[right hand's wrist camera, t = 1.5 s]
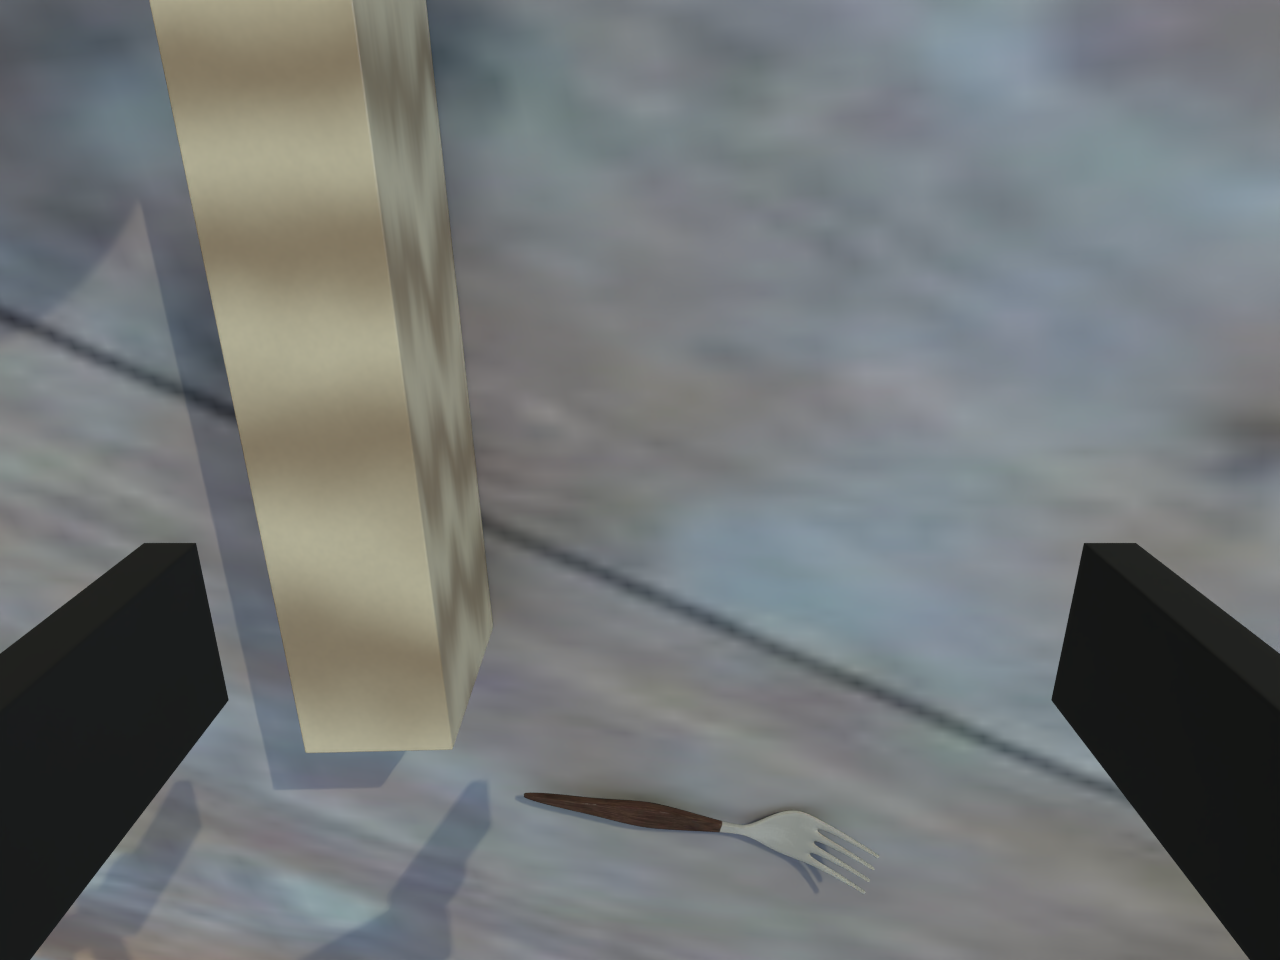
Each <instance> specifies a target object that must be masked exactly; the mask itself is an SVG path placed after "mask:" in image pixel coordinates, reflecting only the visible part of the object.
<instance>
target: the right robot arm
mask: <svg viewBox="0 0 1280 960" xmlns="http://www.w3.org/2000/svg"><path fill="white" fill-rule="evenodd" d="M227 701H228V695H227V690H226V686H225V681H224V676H223V671H222V666H221V661H220V657H219V652H218V647H217V642H216V637H215V633H214V628H213V623H212V618H211V613H210V609H209V604H208V599H207V594H206V589H205V584H204V580H203V575H202V570H201V565H200V560H199V556H198V551H197V546H196V543H144V544H142V545H141V546H140V547H139V548H137V549H136V550H135V551H133V552H132V553H131V554H129V555H128V556H127V557H126V558H124V559H123V560H122V561H120V562H119V563H118V564H116V565H115V566H114V567H113V568H111V569H110V570H109V571H107V572H106V573H105V574H103V575H102V576H101V577H100V578H98V579H97V580H96V581H94V582H93V583H92V584H90V585H89V586H88V587H87V588H85V589H84V590H83V591H81V592H80V593H79V594H77V595H76V596H75V597H74V598H72V599H71V600H70V601H68V602H67V603H66V604H64V605H63V606H62V607H61V608H59V609H58V610H57V611H55V612H54V613H53V614H51V615H50V616H49V617H48V618H46V619H45V620H44V621H42V622H41V623H40V624H38V625H37V626H36V627H35V628H33V629H32V630H31V631H29V632H28V633H27V634H25V635H24V636H23V637H22V638H20V639H19V640H18V641H16V642H15V643H14V644H12V645H11V646H10V647H9V648H7V649H6V650H5V651H3V652H2V653H1V654H0V960H30V959H31V958H32V957H33V955H34V954H35V953H36V951H37V950H38V949H39V947H40V946H41V945H42V944H43V942H44V941H45V940H46V938H47V937H48V936H49V934H50V933H51V932H52V930H53V929H54V928H55V927H56V925H57V924H58V923H59V921H60V920H61V919H62V917H63V916H64V915H65V913H66V912H67V911H68V910H69V908H70V907H71V906H72V904H73V903H74V902H75V900H76V899H77V898H78V896H79V895H80V894H81V893H82V891H83V890H84V889H85V887H86V886H87V885H88V883H89V882H90V881H91V879H92V878H93V877H94V876H95V874H96V873H97V872H98V870H99V869H100V868H101V866H102V865H103V864H104V862H105V861H106V860H107V859H108V857H109V856H110V855H111V853H112V852H113V851H114V849H115V848H116V847H117V845H118V844H119V843H120V841H121V840H122V839H123V838H124V836H125V835H126V834H127V832H128V831H129V830H130V828H131V827H132V826H133V824H134V823H135V822H136V821H137V819H138V818H139V817H140V815H141V814H142V813H143V811H144V810H145V809H146V807H147V806H148V805H149V804H150V802H151V801H152V800H153V798H154V797H155V796H156V794H157V793H158V792H159V790H160V789H161V788H162V787H163V785H164V784H165V783H166V781H167V780H168V779H169V777H170V776H171V775H172V773H173V772H174V771H175V770H176V768H177V767H178V766H179V764H180V763H181V762H182V760H183V759H184V758H185V756H186V755H187V754H188V753H189V751H190V750H191V749H192V747H193V746H194V745H195V743H196V742H197V741H198V739H199V738H200V737H201V736H202V734H203V733H204V732H205V730H206V729H207V728H208V726H209V725H210V724H211V722H212V721H213V720H214V718H215V717H216V716H217V715H218V713H219V712H220V711H221V709H222V708H223V707H224V705H225V704H226V703H227ZM1052 701H1053V703H1054V704H1055V705H1056V707H1057V708H1058V709H1059V711H1060V712H1061V713H1062V715H1063V716H1064V717H1065V719H1066V720H1067V721H1068V722H1069V724H1070V725H1071V726H1072V728H1073V729H1074V730H1075V732H1076V733H1077V734H1078V736H1079V737H1080V738H1081V739H1082V741H1083V742H1084V743H1085V745H1086V746H1087V747H1088V749H1089V750H1090V751H1091V753H1092V754H1093V755H1094V756H1095V758H1096V759H1097V760H1098V762H1099V763H1100V764H1101V766H1102V767H1103V768H1104V770H1105V771H1106V772H1107V773H1108V775H1109V776H1110V777H1111V779H1112V780H1113V781H1114V783H1115V784H1116V785H1117V787H1118V788H1119V789H1120V790H1121V792H1122V793H1123V794H1124V796H1125V797H1126V798H1127V800H1128V801H1129V802H1130V804H1131V805H1132V806H1133V807H1134V809H1135V810H1136V811H1137V813H1138V814H1139V815H1140V817H1141V818H1142V819H1143V821H1144V822H1145V823H1146V824H1147V826H1148V827H1149V828H1150V830H1151V831H1152V832H1153V834H1154V835H1155V836H1156V838H1157V839H1158V840H1159V841H1160V843H1161V844H1162V845H1163V847H1164V848H1165V849H1166V851H1167V852H1168V853H1169V855H1170V856H1171V857H1172V859H1173V860H1174V861H1175V862H1176V864H1177V865H1178V866H1179V868H1180V869H1181V870H1182V872H1183V873H1184V874H1185V876H1186V877H1187V878H1188V879H1189V881H1190V882H1191V883H1192V885H1193V886H1194V887H1195V889H1196V890H1197V891H1198V893H1199V894H1200V895H1201V896H1202V898H1203V899H1204V900H1205V902H1206V903H1207V904H1208V906H1209V907H1210V908H1211V910H1212V911H1213V912H1214V913H1215V915H1216V916H1217V917H1218V919H1219V920H1220V921H1221V923H1222V924H1223V925H1224V927H1225V928H1226V929H1227V930H1228V932H1229V933H1230V934H1231V936H1232V937H1233V938H1234V940H1235V941H1236V942H1237V944H1238V945H1239V946H1240V947H1241V949H1242V950H1243V951H1244V953H1245V954H1246V955H1247V957H1248V958H1249V959H1250V960H1280V654H1279V653H1278V652H1277V651H1275V650H1274V649H1273V648H1271V647H1270V646H1269V645H1268V644H1266V643H1265V642H1264V641H1262V640H1261V639H1260V638H1258V637H1257V636H1256V635H1255V634H1253V633H1252V632H1251V631H1249V630H1248V629H1247V628H1245V627H1244V626H1243V625H1242V624H1240V623H1239V622H1238V621H1236V620H1235V619H1234V618H1232V617H1231V616H1230V615H1229V614H1227V613H1226V612H1225V611H1223V610H1222V609H1221V608H1219V607H1218V606H1217V605H1216V604H1214V603H1213V602H1212V601H1210V600H1209V599H1208V598H1206V597H1205V596H1204V595H1203V594H1201V593H1200V592H1199V591H1197V590H1196V589H1195V588H1193V587H1192V586H1191V585H1190V584H1188V583H1187V582H1186V581H1184V580H1183V579H1182V578H1180V577H1179V576H1178V575H1177V574H1175V573H1174V572H1173V571H1171V570H1170V569H1169V568H1167V567H1166V566H1165V565H1164V564H1162V563H1161V562H1160V561H1158V560H1157V559H1156V558H1154V557H1153V556H1152V555H1151V554H1149V553H1148V552H1147V551H1145V550H1144V549H1143V548H1141V547H1140V546H1139V545H1138V544H1136V543H1084V546H1083V551H1082V556H1081V560H1080V565H1079V570H1078V575H1077V580H1076V584H1075V589H1074V594H1073V599H1072V604H1071V609H1070V613H1069V618H1068V623H1067V628H1066V633H1065V637H1064V642H1063V647H1062V652H1061V657H1060V661H1059V666H1058V671H1057V676H1056V681H1055V686H1054V690H1053V695H1052Z"/></svg>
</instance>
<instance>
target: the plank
mask: <svg viewBox="0 0 1280 960" xmlns="http://www.w3.org/2000/svg"><path fill="white" fill-rule="evenodd" d="M149 1H150V6H151V11H152V16H153V21H154V25H155V30H156V35H157V40H158V45H159V50H160V54H161V59H162V64H163V69H164V74H165V78H166V83H167V88H168V93H169V98H170V102H171V107H172V112H173V117H174V122H175V127H176V131H177V136H178V141H179V146H180V151H181V155H182V160H183V165H184V170H185V175H186V179H187V184H188V189H189V194H190V199H191V203H192V208H193V213H194V218H195V223H196V228H197V232H198V237H199V242H200V247H201V252H202V256H203V261H204V266H205V271H206V276H207V280H208V285H209V290H210V295H211V300H212V305H213V309H214V314H215V319H216V324H217V329H218V333H219V338H220V343H221V348H222V353H223V357H224V362H225V367H226V372H227V377H228V381H229V386H230V391H231V396H232V401H233V406H234V410H235V415H236V420H237V425H238V430H239V434H240V439H241V444H242V449H243V454H244V458H245V463H246V468H247V473H248V478H249V483H250V487H251V492H252V497H253V502H254V507H255V511H256V516H257V521H258V526H259V531H260V535H261V540H262V545H263V550H264V555H265V560H266V564H267V569H268V574H269V579H270V584H271V588H272V593H273V598H274V603H275V608H276V612H277V617H278V622H279V627H280V632H281V636H282V641H283V646H284V651H285V656H286V661H287V665H288V670H289V675H290V680H291V685H292V689H293V694H294V699H295V704H296V709H297V713H298V718H299V723H300V728H301V733H302V738H303V742H304V747H305V752H306V753H331V752H374V751H416V750H451V749H453V746H454V743H455V740H456V737H457V734H458V731H459V728H460V725H461V722H462V719H463V716H464V713H465V710H466V707H467V704H468V701H469V698H470V695H471V692H472V689H473V686H474V683H475V680H476V677H477V674H478V671H479V668H480V665H481V662H482V659H483V656H484V653H485V650H486V647H487V644H488V641H489V638H490V635H491V632H492V629H493V623H492V613H491V604H490V595H489V585H488V576H487V567H486V557H485V548H484V539H483V529H482V520H481V511H480V501H479V492H478V483H477V473H476V464H475V455H474V445H473V436H472V427H471V417H470V408H469V399H468V390H467V380H466V371H465V362H464V352H463V343H462V334H461V324H460V315H459V306H458V296H457V287H456V278H455V268H454V259H453V250H452V240H451V231H450V222H449V212H448V203H447V194H446V184H445V175H444V166H443V156H442V147H441V138H440V128H439V119H438V110H437V100H436V91H435V82H434V72H433V63H432V54H431V44H430V35H429V26H428V16H427V7H426V0H149Z"/></svg>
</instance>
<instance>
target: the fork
mask: <svg viewBox="0 0 1280 960" xmlns="http://www.w3.org/2000/svg"><path fill="white" fill-rule="evenodd" d="M524 797H525V798H527V799H530V800H533V801H536V802H540V803H544V804H547V805H551V806H555V807H560V808H564V809H568V810H572V811H577V812H581V813H586V814H590V815H594V816H598V817H602V818H606V819H610V820H614V821H618V822H622V823H626V824H631V825H635V826H641V827H647V828H656V829H669V830H688V831H707V832H724V833H734V834H740V835H744V836H747V837H750V838H752V839H754V840H756V841H758V842H760V843H762V844H763V845H765V846H767V847H769V848H771V849H773V850H775V851H777V852H779V853H781V854H784V855H786V856H789V857H792V858H794V859H797V860H800V861H802V862H805V863H807V864H809V865H812V866H814V867H816V868H818V869H820V870H822V871H824V872H826V873H827V874H829V875H831V876H833V877H835V878H837V879H839V880H840V881H842V882H844V883H846V884H848V885H849V886H851V887H853V888H854V889H856V890H858V891H859V892H861V893H862V894H865V891H864V890H863V889H861V888H860V887H858V886H857V885H855V884H854V883H852V882H851V881H849V880H848V879H846V878H845V877H843V876H841V875H840V874H838V873H837V872H835V871H834V870H832V869H830V868H829V867H827V866H825V865H824V864H822V863H820V862H819V861H817V860H816V859H814V858H813V857H811V856H810V853H814V854H817V855H819V856H821V857H823V858H825V859H827V860H829V861H831V862H833V863H835V864H837V865H839V866H840V867H842V868H844V869H846V870H848V871H850V872H851V873H853V874H855V875H857V876H859V877H860V878H862V879H864V880H865V881H867V882H870V880H869V879H868V878H867V877H865V876H864V875H862V874H861V873H859V872H858V871H856V870H855V869H853V868H852V867H850V866H848V865H847V864H845V863H844V862H842V861H841V860H839V859H837V858H836V857H834V856H832V855H831V854H829V853H827V852H826V851H824V850H822V849H821V848H819V847H818V846H816V845H815V844H814V841H817V842H820V843H823V844H825V845H827V846H829V847H831V848H833V849H835V850H837V851H839V852H841V853H843V854H844V855H846V856H848V857H850V858H852V859H854V860H856V861H858V862H859V863H861V864H863V865H865V866H866V867H868V868H870V869H871V870H874V869H875V868H874V867H873V866H871V865H870V864H868V863H867V862H865V861H864V860H862V859H861V858H859V857H857V856H856V855H854V854H853V853H851V852H850V851H848V850H846V849H845V848H843V847H841V846H840V845H838V844H836V843H835V842H833V841H831V840H830V839H828V838H826V837H825V836H823V835H822V834H820V833H819V832H818V829H821V830H824V831H827V832H829V833H831V834H833V835H835V836H837V837H839V838H841V839H843V840H845V841H847V842H849V843H851V844H853V845H855V846H857V847H858V848H860V849H862V850H864V851H866V852H868V853H870V854H871V855H873V856H874V857H876V858H879V855H878V854H876V853H875V852H873V851H871V850H870V849H868V848H867V847H865V846H864V845H862V844H860V843H859V842H857V841H856V840H854V839H852V838H851V837H849V836H848V835H846V834H844V833H843V832H841V831H839V830H837V829H836V828H834V827H832V826H830V825H828V824H827V823H825V822H823V821H821V820H819V819H817V818H816V817H814V816H812V815H809V814H807V813H804V812H801V811H794V810H791V811H783V812H779V813H776V814H773V815H771V816H768V817H766V818H764V819H762V820H759V821H757V822H754V823H751V824H747V825H737V824H731V823H727V822H723V821H720V820H716V819H712V818H709V817H705V816H702V815H698V814H695V813H691V812H687V811H684V810H680V809H676V808H673V807H669V806H665V805H660V804H655V803H650V802H642V801H632V800H617V799H601V798H589V797H579V796H570V795H560V794H548V793H525V794H524Z"/></svg>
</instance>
